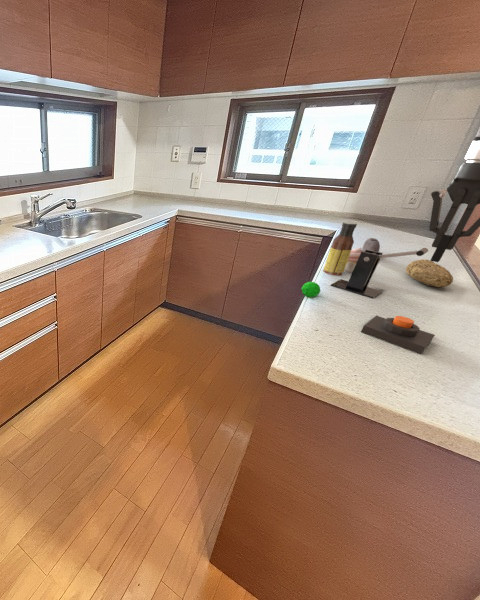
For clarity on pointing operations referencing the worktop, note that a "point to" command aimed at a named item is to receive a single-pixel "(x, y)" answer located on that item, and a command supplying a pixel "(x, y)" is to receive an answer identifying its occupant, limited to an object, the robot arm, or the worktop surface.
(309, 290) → the green bumpy ball
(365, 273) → the bracket
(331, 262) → the sauce bottle
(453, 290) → the worktop surface
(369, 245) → the perforated stone tool
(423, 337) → the button block
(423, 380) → the worktop surface
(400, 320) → the button
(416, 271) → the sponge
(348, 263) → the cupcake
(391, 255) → the lever
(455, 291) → the worktop surface
